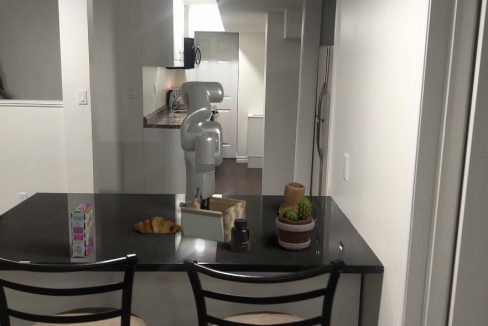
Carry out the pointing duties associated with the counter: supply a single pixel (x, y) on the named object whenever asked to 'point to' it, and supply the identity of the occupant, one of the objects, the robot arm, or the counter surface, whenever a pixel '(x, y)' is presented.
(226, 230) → the crate
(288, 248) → the flowerpot
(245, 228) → the supplement bottle
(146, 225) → the croissant
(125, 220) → the counter surface
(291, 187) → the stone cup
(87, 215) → the candy bar box
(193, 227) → the panel
